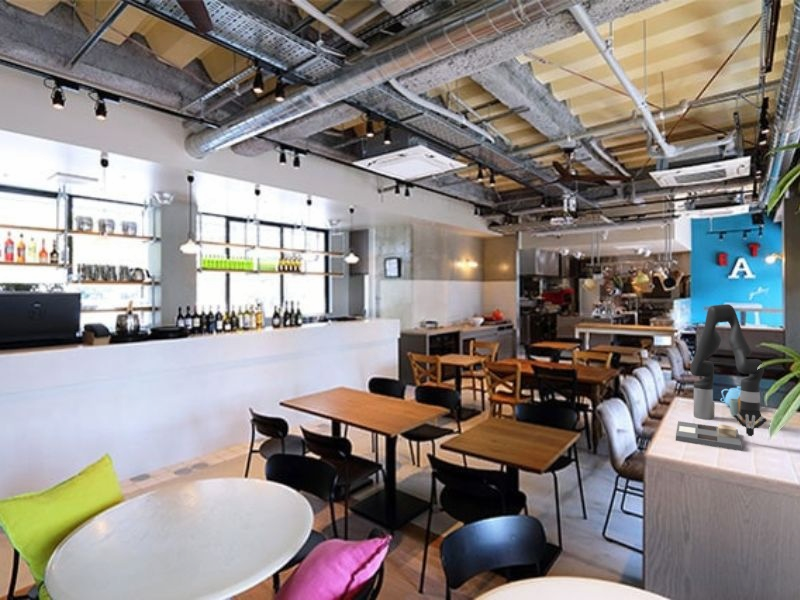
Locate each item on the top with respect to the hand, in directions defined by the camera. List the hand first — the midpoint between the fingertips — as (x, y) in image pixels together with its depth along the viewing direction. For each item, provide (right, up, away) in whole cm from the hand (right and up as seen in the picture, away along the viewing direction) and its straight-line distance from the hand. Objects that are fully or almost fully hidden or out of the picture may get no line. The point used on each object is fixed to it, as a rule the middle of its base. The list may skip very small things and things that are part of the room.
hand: (749, 435), depth 213 cm
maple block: (-7, -1, +5) cm, 9 cm away
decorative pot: (+43, -2, +62) cm, 76 cm away
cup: (+28, -3, +43) cm, 51 cm away
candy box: (+22, -3, +28) cm, 36 cm away
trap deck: (-14, -4, +10) cm, 17 cm away
